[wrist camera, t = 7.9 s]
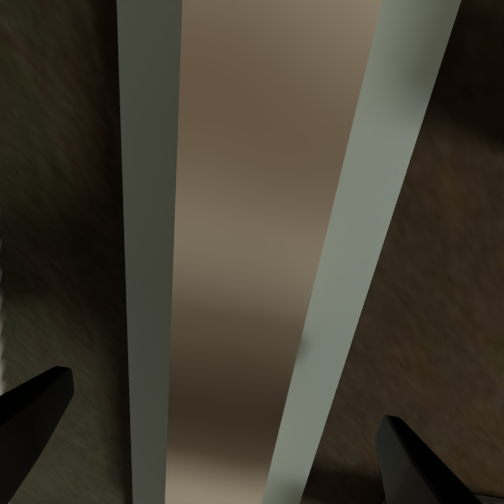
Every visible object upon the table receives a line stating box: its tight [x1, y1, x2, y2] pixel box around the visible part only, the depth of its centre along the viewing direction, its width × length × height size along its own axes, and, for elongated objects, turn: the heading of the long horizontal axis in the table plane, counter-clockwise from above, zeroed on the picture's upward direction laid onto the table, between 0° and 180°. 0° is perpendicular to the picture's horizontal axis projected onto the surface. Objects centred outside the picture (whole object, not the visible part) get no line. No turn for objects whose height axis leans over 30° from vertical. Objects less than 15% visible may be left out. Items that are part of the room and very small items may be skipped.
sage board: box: [117, 0, 461, 504], centre depth 11 cm, size 27×8×1 cm, turn 172°
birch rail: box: [165, 0, 382, 504], centre depth 9 cm, size 24×3×3 cm, turn 172°
